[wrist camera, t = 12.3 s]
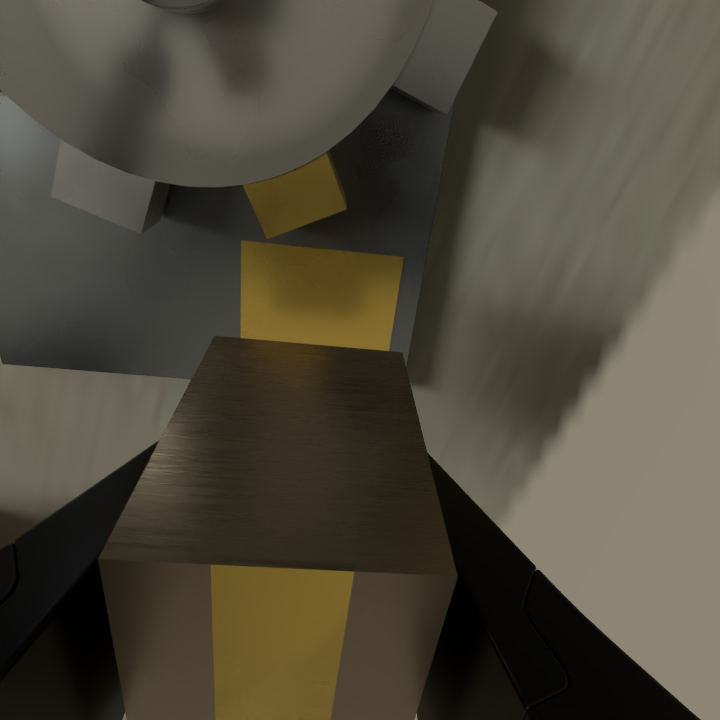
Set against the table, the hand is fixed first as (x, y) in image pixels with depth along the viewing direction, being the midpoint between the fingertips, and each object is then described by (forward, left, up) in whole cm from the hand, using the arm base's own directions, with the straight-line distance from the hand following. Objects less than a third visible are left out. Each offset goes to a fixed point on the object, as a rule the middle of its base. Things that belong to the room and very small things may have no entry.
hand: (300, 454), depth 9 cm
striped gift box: (0, 0, -1) cm, 1 cm away
